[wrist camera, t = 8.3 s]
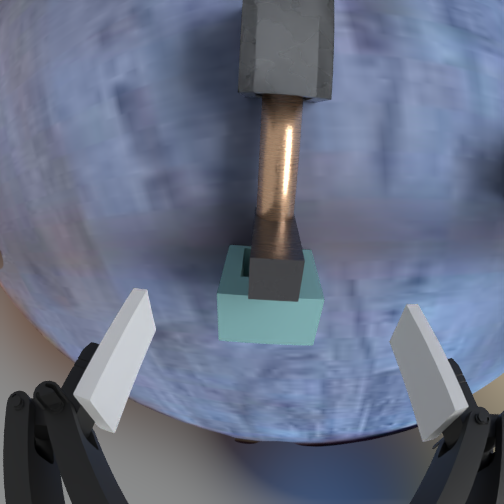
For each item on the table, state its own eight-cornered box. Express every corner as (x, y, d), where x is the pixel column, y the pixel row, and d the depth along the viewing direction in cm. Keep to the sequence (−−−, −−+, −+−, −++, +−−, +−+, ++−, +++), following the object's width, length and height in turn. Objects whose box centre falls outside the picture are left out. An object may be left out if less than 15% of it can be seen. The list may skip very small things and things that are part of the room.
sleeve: (249, 6, 17) (244, -22, 12) (319, 12, 17) (333, -14, 12) (245, 97, 21) (237, 91, 16) (316, 102, 21) (331, 99, 16)
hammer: (262, 67, 19) (260, 40, 11) (303, 71, 19) (325, 46, 11) (252, 284, 28) (245, 351, 20) (284, 285, 28) (288, 353, 20)
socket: (229, 244, 28) (216, 293, 21) (311, 249, 28) (324, 299, 21) (229, 286, 30) (218, 340, 23) (304, 291, 30) (312, 345, 23)
